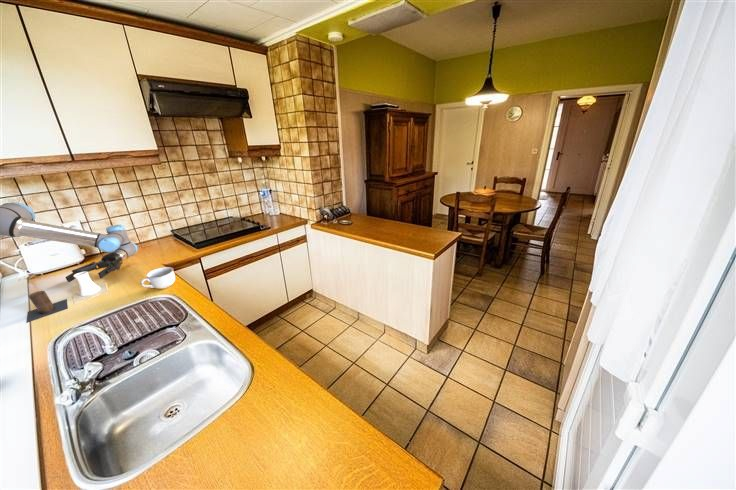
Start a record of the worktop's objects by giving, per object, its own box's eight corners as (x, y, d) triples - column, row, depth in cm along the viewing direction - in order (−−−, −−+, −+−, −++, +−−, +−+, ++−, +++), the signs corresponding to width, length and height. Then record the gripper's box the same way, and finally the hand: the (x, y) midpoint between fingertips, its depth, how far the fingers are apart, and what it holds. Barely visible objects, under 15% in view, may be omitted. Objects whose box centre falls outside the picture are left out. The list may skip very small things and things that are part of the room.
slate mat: (28, 313, 116) (27, 311, 116) (67, 300, 124) (66, 298, 124) (27, 324, 109) (26, 322, 108) (68, 310, 117) (67, 308, 116)
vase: (84, 297, 124) (73, 279, 120) (76, 294, 127) (66, 276, 123) (104, 289, 130) (94, 271, 126) (96, 286, 133) (87, 269, 129)
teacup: (174, 277, 139) (168, 264, 136) (181, 284, 133) (175, 270, 129) (141, 290, 129) (135, 275, 126) (147, 297, 123) (141, 282, 120)
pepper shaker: (40, 311, 115) (28, 294, 112) (55, 306, 118) (44, 289, 115) (39, 315, 112) (27, 298, 109) (55, 310, 116) (44, 293, 112)
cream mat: (72, 293, 130) (71, 291, 130) (105, 282, 138) (104, 281, 138) (74, 305, 120) (73, 303, 120) (109, 293, 128) (108, 291, 128)
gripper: (142, 261, 149) (116, 280, 130) (91, 267, 145) (57, 288, 126) (136, 249, 146) (109, 267, 127) (85, 255, 142) (49, 274, 123)
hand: (83, 277), depth 126 cm, fingers open, 13 cm apart
